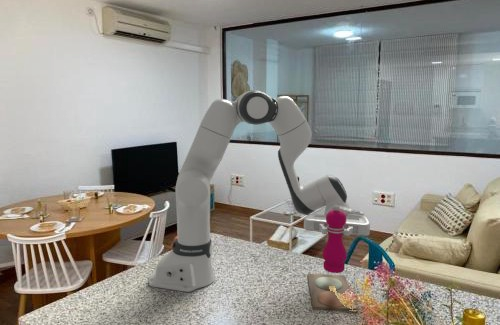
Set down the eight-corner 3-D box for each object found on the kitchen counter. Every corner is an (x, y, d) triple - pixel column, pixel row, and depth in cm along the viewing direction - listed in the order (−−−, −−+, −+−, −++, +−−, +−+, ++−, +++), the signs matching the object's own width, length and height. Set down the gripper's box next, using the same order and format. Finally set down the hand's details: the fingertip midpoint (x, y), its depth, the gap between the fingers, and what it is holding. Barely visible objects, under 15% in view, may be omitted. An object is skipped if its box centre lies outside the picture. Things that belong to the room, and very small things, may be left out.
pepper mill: (346, 275, 109) (349, 209, 106) (321, 272, 111) (324, 208, 108) (345, 264, 116) (348, 202, 113) (322, 262, 118) (324, 201, 115)
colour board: (312, 309, 111) (312, 305, 110) (307, 276, 132) (307, 272, 132) (357, 312, 110) (357, 308, 109) (344, 278, 131) (344, 274, 131)
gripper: (305, 207, 126) (300, 219, 113) (368, 212, 121) (371, 225, 108) (305, 225, 127) (300, 239, 114) (367, 230, 122) (370, 246, 109)
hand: (335, 232), depth 111 cm, fingers closed on pepper mill, 5 cm apart
